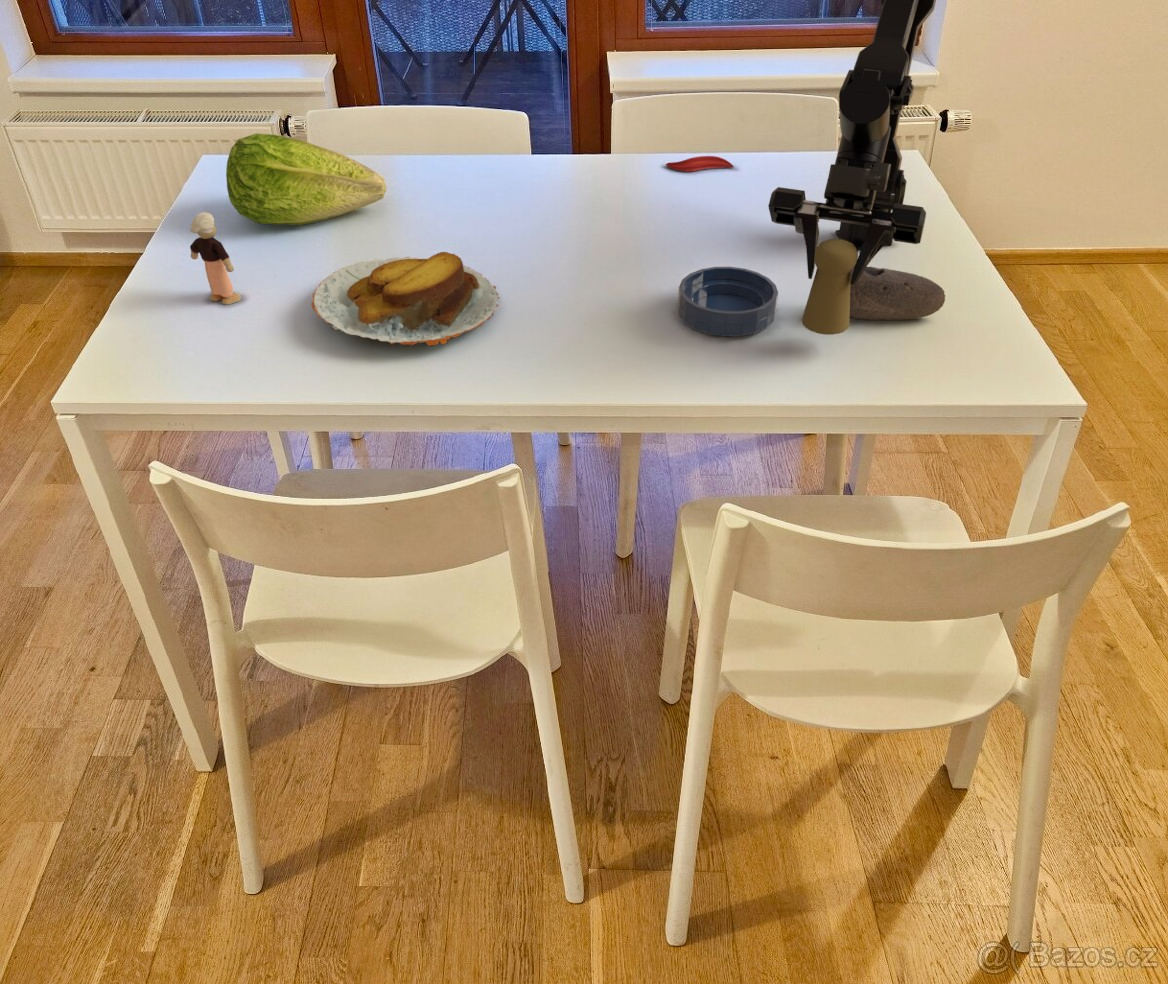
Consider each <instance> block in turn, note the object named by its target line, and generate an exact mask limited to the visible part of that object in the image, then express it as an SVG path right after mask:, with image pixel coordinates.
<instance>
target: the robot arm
mask: <svg viewBox="0 0 1168 984" xmlns="http://www.w3.org/2000/svg"><path fill="white" fill-rule="evenodd" d="M936 3H937V0H881V6H882V7H881V11H880V13H879V17H878V21H877V25H876V28H875V30H874V31H875V32H874V35H873V38H872V41H871V43H870V44H868V45H867V46H865V47H864V48H863V49H862V50H860V51H859V52H858V54H857V57H856V61H855V63H854V67H853V69H848V72H847V73H846V75H845V78H844V80H843V83H842V85H841V88H840V89H839V92H838V109H839V128H840V133H841V137H840V140H839V145H838V149H837V154H836V158H835V162H834V164H833V163H831V164H830V166H829V172H828V176H827V180H826V185H825V189H824V193H823V198H824V199H825V202H818V201H814V200H807V198H806V192H805V191H806V190H802V189H797V188H796V189H795V188H788V187H781V186H778V187H776V188H775V189H774V190H773V191H772V192H771V194H770V198H769V202H768V206H767V207H768V211H769V215H770V220H771V222H772V223H774V224H776V225H784V226H792V227H794V228H795V229H794V230H795V232H796V233H798V234H802V235H803V240H804V243H805V249H806V265H807V267H806V268H807V278H808V279H809V280H812V279H813V276H814V273H815V270H816V269H815V268H816V265H815V260H814V255H815V251H816V249H817V247H818V245H819V244H818V243H819V238H820V237H819V236H820V228H819V222H820V220H823V221H833V222H839V229H836V230H835V232H834V234H835V235H836V236H837V237H838V239H842V240H846V241H848V242H850V243H852V244H853V245H854V246H855V247H856V250H857V251H859V253H858V259H857V262H856V265H855V267H854V270H853V274H852V279H851V286H854V285H855V283H856V282H857V280H858V279H859V277H860V276H861V274H862V273H863V271H864V270H865V268H866V267H868V266H869V265H870V263H871V261H872V260H873V259H874V257H875V256H877V254H878V253H879V252H880V251H881V249H883V248H884V247H891V246H892V245H893V243H894V242H900V243H905V244H906V243H907V244H912V245H919V244H921V241H922V237H923V233H924V229H925V223H926V217H927V212H926V210H925V208H924V206H919V205H911V204H904V200H905V195H906V189H907V180H906V177H905V169H901V167H902V161H903V156H902V153H901V150H900V147H899V144H898V141H897V134H898V129H899V124H900V119H901V114H902V111H903V109H904V108H905V107H908V106H909V105H910V102H911V100H912V98H913V96H914V95H913V94H914V90H915V86H914V85H913V79H912V76H911V75H910V71H911V67H912V62H913V56H914V52H915V47H916V43H917V38H918V32H919V29H920V28H921V27H922V25H923V24H924V23H925V22H926V21H927V19H929V17H930V16H931V14H932V13H933V12H934V10H935V7H936Z"/></svg>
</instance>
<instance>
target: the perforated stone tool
mask: <svg viewBox="0 0 1168 984" xmlns="http://www.w3.org/2000/svg"><path fill="white" fill-rule="evenodd" d="M853 270H854V269H853ZM853 270H852V271H851V279H852V274H853ZM945 302H946V294H945V290H944V289H943V287H941V285H939V284H937V283H936V282H934V281H933V280H931V279H929V278H927V277H924V276H921V275H918V274H916V273H912V272H911V273H910V272H906V271H901V270H895V269H889V268H885V267H882V268H879V267H874V266H867V267H866V268H865V270H864V271H863V273H862V274H861V276H860V277H859V279H858V280H857V282H856V283H855V285H854V286H851V281H850V318H855V319H859V320H860V319H861V320H880V321H881V320H885V321H887V320H888V321H889V320H890V321H894V320H897V321H898V320H899V321H900V320H901V321H902V320H915V319H921V318H926V317H928V316H931V315H933V314H935V313H936V312H938V311H940V310H941V308H942V307H944V304H945Z"/></svg>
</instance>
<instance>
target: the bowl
mask: <svg viewBox="0 0 1168 984" xmlns="http://www.w3.org/2000/svg"><path fill="white" fill-rule="evenodd" d="M778 297H779V290H778V287H777V285H776V283H774V282H773V281H772V280H771V279H770V278H769V277H768V276H766V275H763V274H761V273H760V272H757V271H754V270H751V269H747V268H744V267H735V266H712V267H707V268H701V269H698V270H696V271H692V272H690V273H689V274H687V275H686V276H685V277H683V279H681V281H680V283H679V285H678V296H677V312H678V317H679V318H680V319H681V320H682V321H683V322H684V324H685V325H687V326H689V327H691V328H692V329H694V330H696V331H699V332H703V333H706V334H709V335H715V336H721V337H742V336H747V335H752V334H756V333H759V332H761V331H764V330H765V329H768V327H769V326H770V325H772V323H773V322H774V320H775V317H776V313H777V305H778V299H779V298H778Z"/></svg>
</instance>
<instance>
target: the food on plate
mask: <svg viewBox="0 0 1168 984" xmlns="http://www.w3.org/2000/svg"><path fill="white" fill-rule="evenodd" d="M496 289H497V287H496V286H495V285H492V284H491V282H490V280H489V279H487V277H484V276H483V274H482V273H480V272H478V271H476V270H474V269H472V268H471V267H469V266H466V265H464V263H463V260H462V258H461V257H460V256H458V255H456V253H450V252H448V251H440V252H437V253H435V254H433V255H431V256H429V257H428V258H418V257H417V258H416V257H409V256H404V257H403V256H402V257H397V256H396V257H390V258H386V259H373V260H366V261H365V260H364V261H359V262H356V263H354V264H351V265H348V266H344V267H341V268H340V269H337V270H335V271H333V272H332V273H331V274H329V275H328V276H327V277H326V278H324V279H323V280H322V281H321V282H320V283H319V284H318V286H317V288H316V289H315V291H313V293H312V302H311V308H312V309H313V311H314V312H315V313H317V314H316V315H317V317H319V318H321V319H323V320H324V322H325V323H327V324H331V325H332V326H331V328H333V329H334V330H335V331H338V330H340V332H344V333H345V334H347V335H351V336H359V337H361V338H369V339H371V340H378V341H379V342H388V343H390V344H391V345H393V344H395V343H398V344H401V345H410V346H411V345H414V346H415V345H416V344H418V343H425V344H426V345H427V346H435V345H438V344H439V343H440V344H441V345H444V344H447V343H448V340H450V339H451V338H457V337H459V336H461V335H462V334H463V333H464V332H465V333H466V334H468V331H469V332H470V331H473V330H474V329H476V328H478V327H482V325H483V324H485V322H486V321H489V320H490V319H491V316H492V317H494V313H495V310H496V309H497V307H499V304H498V300H499V299H500V296H499V293H498V291H497V290H496Z"/></svg>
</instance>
